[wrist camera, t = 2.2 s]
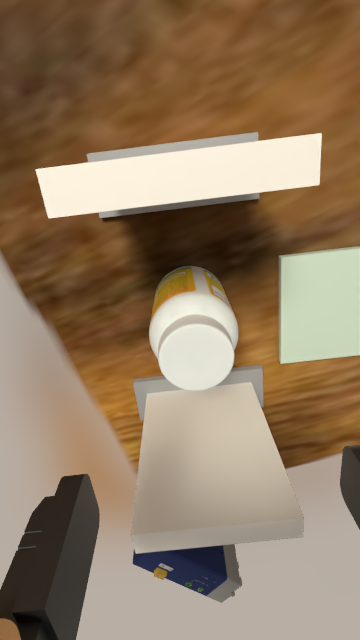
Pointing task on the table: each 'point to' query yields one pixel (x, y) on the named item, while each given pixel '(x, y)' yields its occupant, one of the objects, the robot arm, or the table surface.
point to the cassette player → (196, 569)
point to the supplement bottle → (193, 329)
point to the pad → (319, 305)
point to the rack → (242, 382)
